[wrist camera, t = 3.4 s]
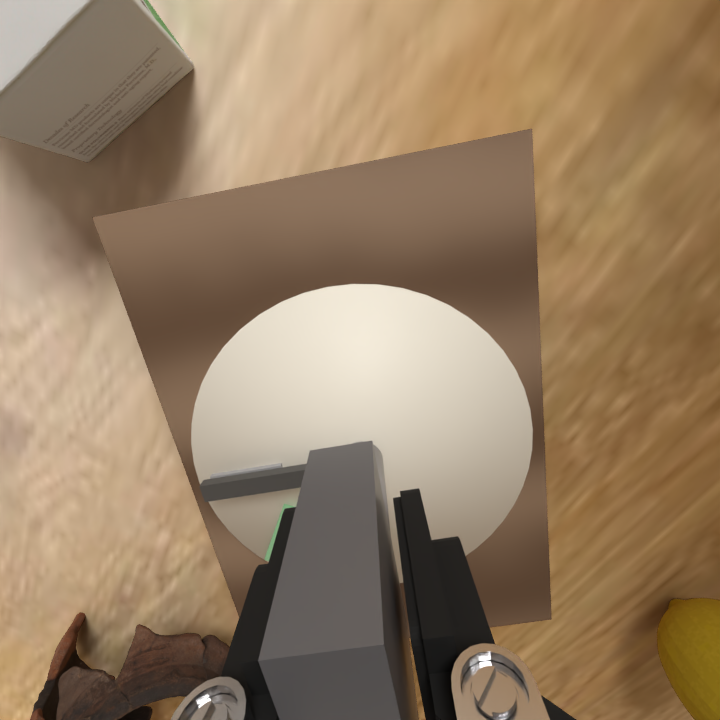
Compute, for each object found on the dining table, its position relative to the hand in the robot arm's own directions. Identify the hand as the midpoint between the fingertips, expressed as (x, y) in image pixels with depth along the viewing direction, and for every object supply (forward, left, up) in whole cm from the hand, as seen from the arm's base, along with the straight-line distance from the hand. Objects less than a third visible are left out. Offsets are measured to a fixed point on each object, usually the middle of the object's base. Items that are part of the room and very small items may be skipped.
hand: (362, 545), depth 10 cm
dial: (0, 0, -5) cm, 5 cm away
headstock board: (0, 0, -8) cm, 8 cm away
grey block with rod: (0, -3, -4) cm, 5 cm away
